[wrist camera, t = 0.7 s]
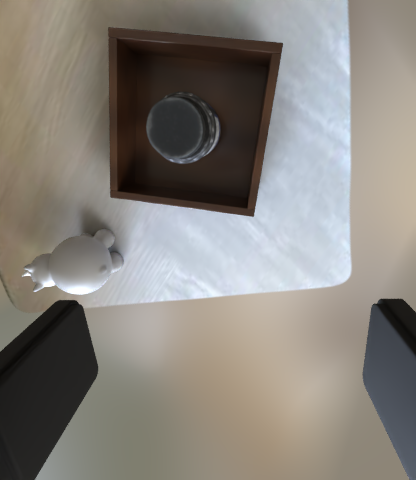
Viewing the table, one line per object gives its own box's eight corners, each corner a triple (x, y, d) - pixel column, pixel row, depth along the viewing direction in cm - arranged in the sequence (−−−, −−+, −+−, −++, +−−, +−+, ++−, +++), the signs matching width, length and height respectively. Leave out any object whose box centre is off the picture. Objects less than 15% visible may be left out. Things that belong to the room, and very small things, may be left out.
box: (132, 45, 32) (108, 26, 26) (275, 59, 31) (283, 42, 25) (130, 187, 37) (110, 197, 32) (252, 203, 36) (253, 216, 30)
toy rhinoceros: (38, 233, 41) (-12, 257, 33) (117, 222, 39) (84, 244, 31) (55, 279, 43) (13, 311, 35) (131, 270, 41) (104, 302, 33)
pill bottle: (158, 124, 34) (120, 119, 23) (200, 87, 32) (179, 66, 22) (190, 168, 35) (168, 182, 25) (232, 135, 33) (227, 136, 23)
